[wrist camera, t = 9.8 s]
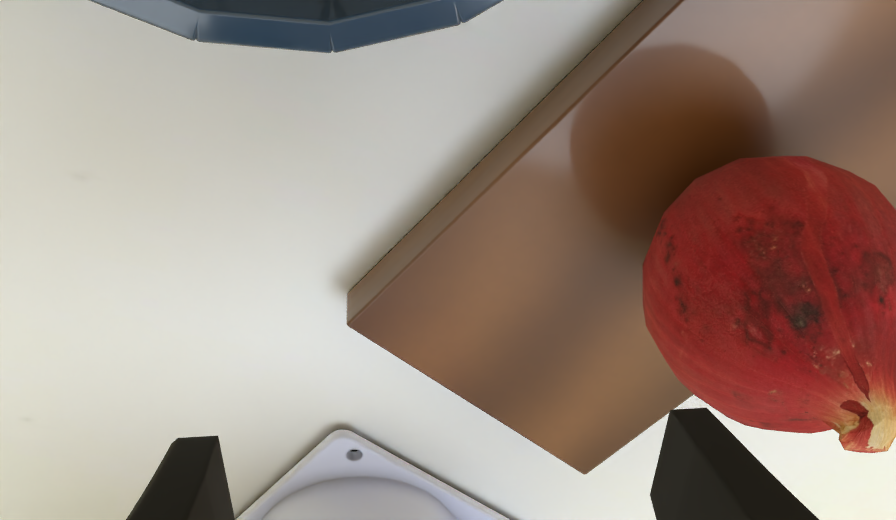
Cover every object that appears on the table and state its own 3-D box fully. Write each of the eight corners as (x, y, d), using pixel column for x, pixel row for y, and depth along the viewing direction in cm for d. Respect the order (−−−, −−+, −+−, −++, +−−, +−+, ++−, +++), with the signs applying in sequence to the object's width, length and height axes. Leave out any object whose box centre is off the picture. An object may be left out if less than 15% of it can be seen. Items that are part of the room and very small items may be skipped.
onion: (568, 173, 20) (678, 399, 13) (791, 57, 19) (1035, 239, 12) (649, 328, 23) (771, 574, 16) (845, 237, 22) (1063, 461, 15)
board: (1077, 56, 21) (1123, 76, 20) (574, 442, 27) (585, 476, 26) (894, -252, 17) (938, -250, 15) (346, 293, 23) (345, 325, 22)
